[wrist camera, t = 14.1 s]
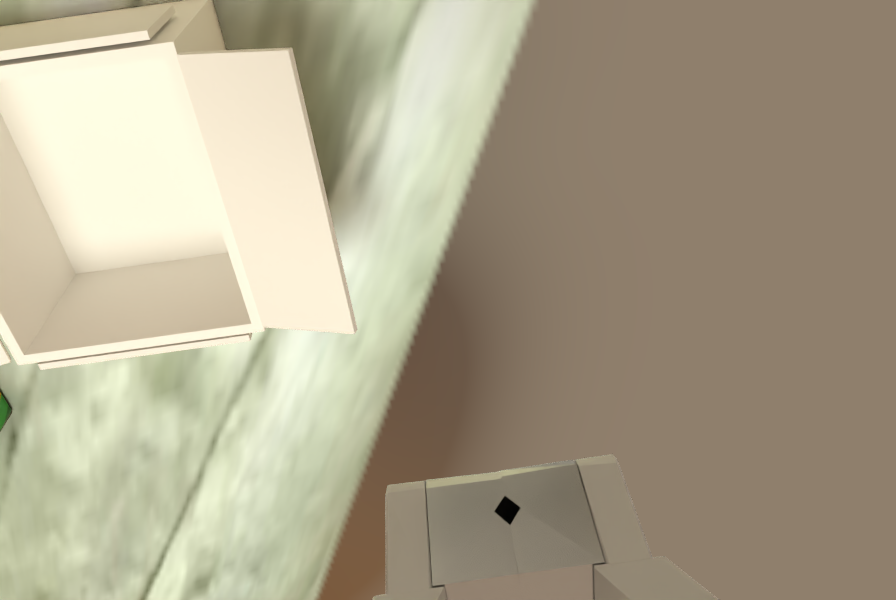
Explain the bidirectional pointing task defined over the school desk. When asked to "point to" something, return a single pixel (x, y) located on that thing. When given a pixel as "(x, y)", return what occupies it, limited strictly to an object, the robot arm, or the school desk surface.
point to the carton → (112, 192)
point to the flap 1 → (4, 355)
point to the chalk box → (4, 411)
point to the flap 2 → (271, 184)
